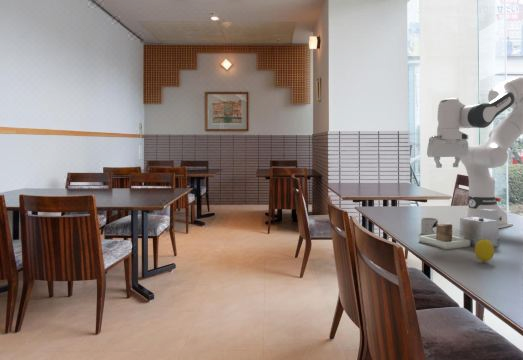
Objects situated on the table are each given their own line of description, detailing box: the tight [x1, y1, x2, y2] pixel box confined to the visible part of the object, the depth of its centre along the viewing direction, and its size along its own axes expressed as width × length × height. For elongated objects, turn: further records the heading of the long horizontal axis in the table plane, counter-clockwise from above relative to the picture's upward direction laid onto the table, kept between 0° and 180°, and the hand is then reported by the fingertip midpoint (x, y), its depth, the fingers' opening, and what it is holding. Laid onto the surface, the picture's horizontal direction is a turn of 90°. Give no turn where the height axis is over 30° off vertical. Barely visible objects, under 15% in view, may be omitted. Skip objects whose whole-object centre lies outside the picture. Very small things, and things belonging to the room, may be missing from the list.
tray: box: [418, 234, 471, 250], centre depth 165 cm, size 12×14×2 cm
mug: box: [420, 217, 439, 236], centre depth 186 cm, size 10×7×7 cm
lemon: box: [474, 239, 495, 264], centre depth 137 cm, size 6×6×8 cm
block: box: [436, 222, 453, 242], centre depth 165 cm, size 4×4×7 cm
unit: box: [459, 216, 500, 248], centre depth 163 cm, size 9×11×11 cm
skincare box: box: [479, 209, 500, 240], centre depth 174 cm, size 6×4×12 cm
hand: (447, 167), depth 184 cm, fingers open, 8 cm apart
